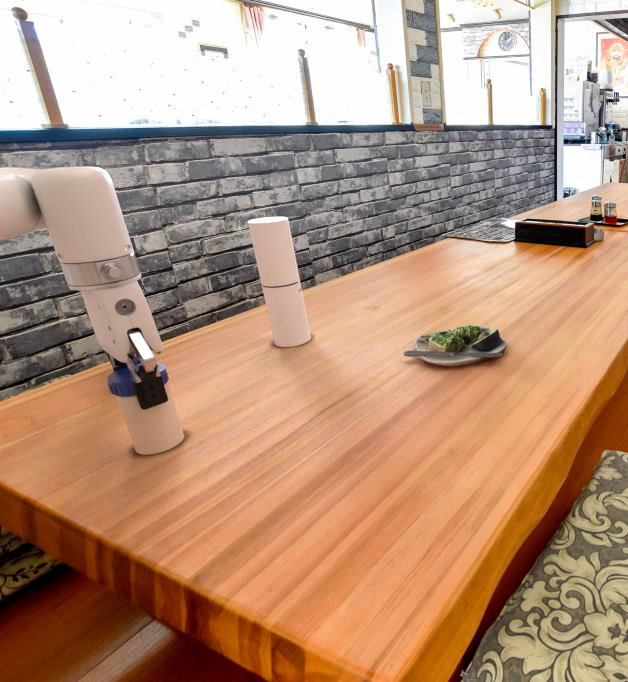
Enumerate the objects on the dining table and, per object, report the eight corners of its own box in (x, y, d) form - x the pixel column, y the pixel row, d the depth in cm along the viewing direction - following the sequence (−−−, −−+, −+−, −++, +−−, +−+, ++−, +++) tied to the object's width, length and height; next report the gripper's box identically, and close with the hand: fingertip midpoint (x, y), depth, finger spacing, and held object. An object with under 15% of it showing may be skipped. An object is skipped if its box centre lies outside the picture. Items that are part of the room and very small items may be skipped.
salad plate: (411, 380, 91) (408, 356, 90) (397, 343, 107) (394, 322, 105) (516, 362, 97) (516, 339, 95) (489, 330, 113) (487, 309, 111)
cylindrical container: (266, 344, 109) (239, 222, 100) (291, 332, 115) (267, 216, 106) (294, 348, 107) (268, 223, 97) (318, 336, 113) (296, 217, 103)
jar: (130, 458, 72) (105, 389, 68) (141, 436, 77) (118, 371, 73) (180, 448, 74) (158, 380, 70) (187, 427, 79) (167, 363, 75)
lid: (173, 372, 76) (169, 359, 75) (163, 391, 70) (159, 377, 70) (118, 380, 74) (114, 366, 73) (103, 400, 68) (99, 386, 67)
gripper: (162, 274, 64) (200, 404, 70) (114, 256, 74) (151, 372, 81) (87, 289, 58) (136, 429, 65) (47, 268, 68) (93, 391, 75)
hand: (144, 396), depth 73 cm, fingers closed on lid, 6 cm apart
